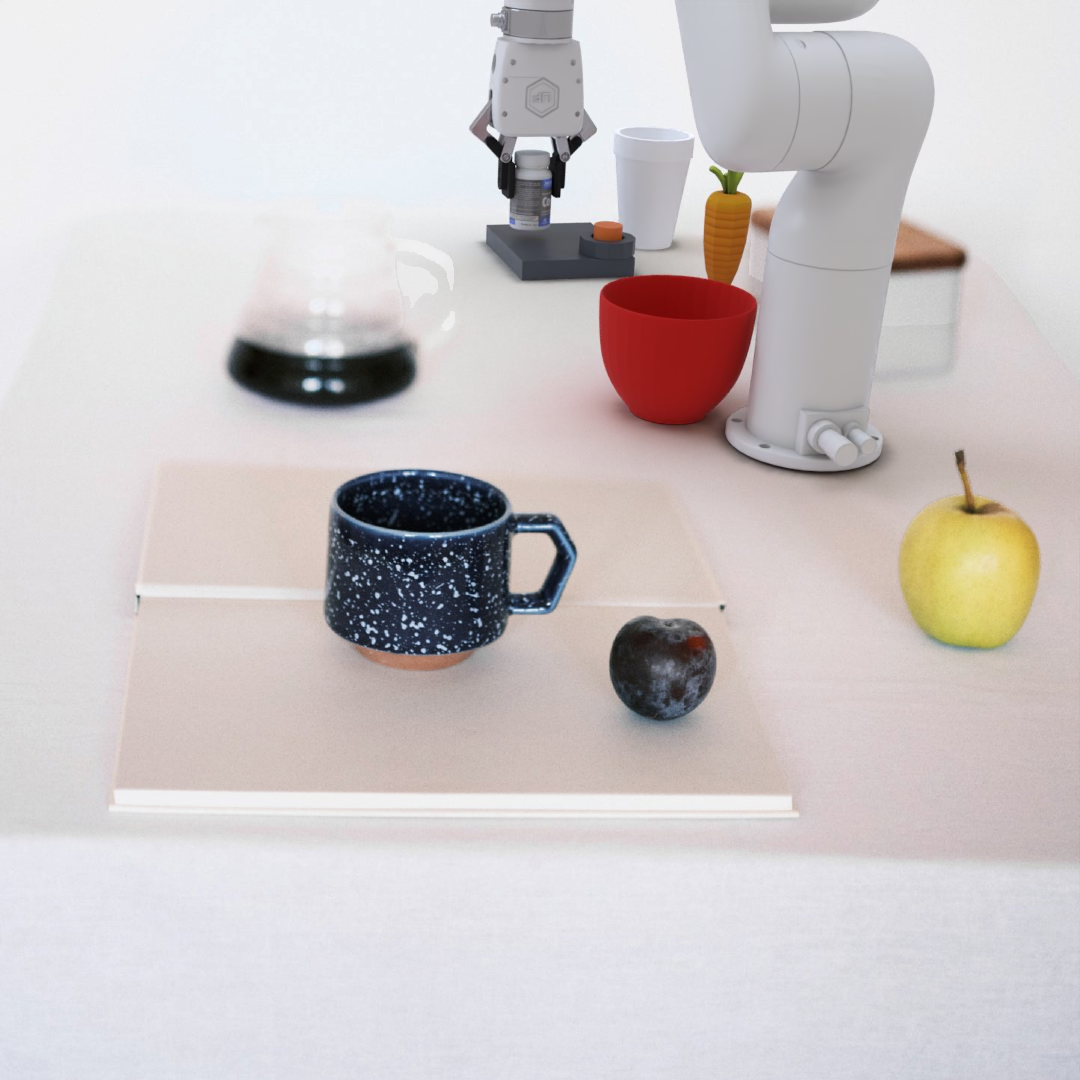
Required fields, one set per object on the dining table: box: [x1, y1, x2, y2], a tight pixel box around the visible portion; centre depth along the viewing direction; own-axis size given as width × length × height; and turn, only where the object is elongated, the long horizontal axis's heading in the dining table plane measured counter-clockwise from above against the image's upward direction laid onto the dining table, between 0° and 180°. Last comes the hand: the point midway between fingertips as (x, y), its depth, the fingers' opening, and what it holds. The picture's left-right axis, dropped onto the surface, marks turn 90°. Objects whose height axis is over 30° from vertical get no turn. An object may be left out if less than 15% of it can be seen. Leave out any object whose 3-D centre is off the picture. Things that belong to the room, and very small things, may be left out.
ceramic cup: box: [598, 274, 758, 425], centre depth 117 cm, size 13×17×10 cm
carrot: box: [702, 165, 753, 285], centre depth 144 cm, size 5×5×15 cm
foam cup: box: [612, 125, 695, 251], centre depth 164 cm, size 10×9×13 cm
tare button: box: [593, 220, 623, 241], centre depth 153 cm, size 3×3×2 cm
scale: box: [485, 221, 636, 282], centre depth 158 cm, size 16×14×4 cm
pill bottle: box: [508, 149, 552, 231], centre depth 156 cm, size 5×5×8 cm
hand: (530, 194), depth 156 cm, fingers closed on pill bottle, 4 cm apart
